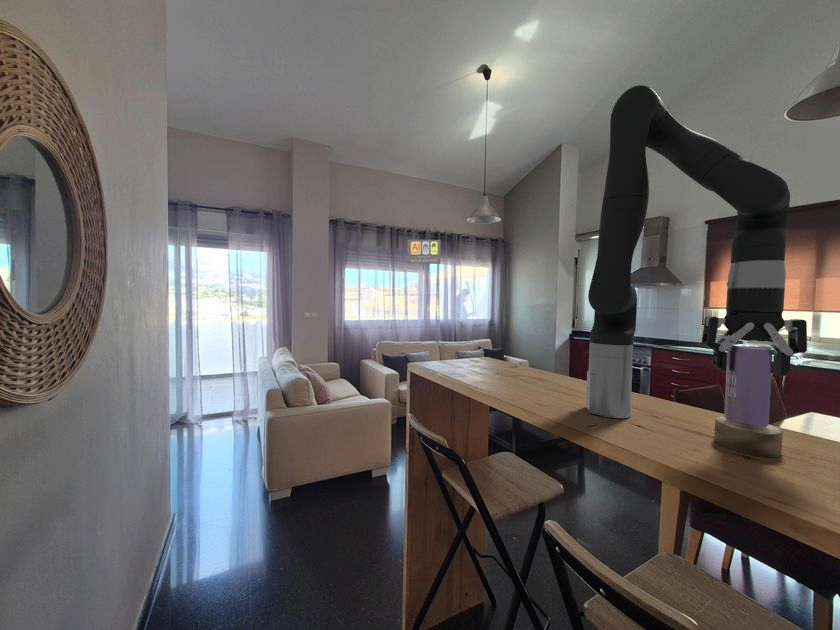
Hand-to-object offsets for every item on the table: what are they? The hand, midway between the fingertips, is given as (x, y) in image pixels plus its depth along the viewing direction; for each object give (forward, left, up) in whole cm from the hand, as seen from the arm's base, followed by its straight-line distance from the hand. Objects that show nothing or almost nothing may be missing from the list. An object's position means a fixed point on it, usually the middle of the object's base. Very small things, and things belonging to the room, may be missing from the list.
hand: (749, 372), depth 61 cm
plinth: (0, 0, -14) cm, 14 cm away
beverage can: (0, 0, -10) cm, 10 cm away
